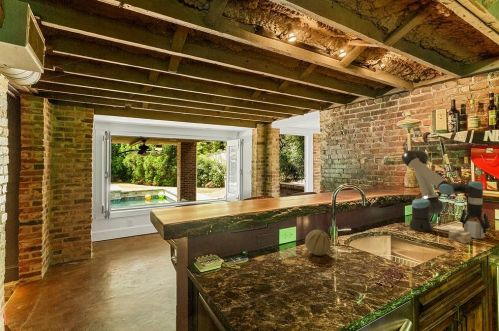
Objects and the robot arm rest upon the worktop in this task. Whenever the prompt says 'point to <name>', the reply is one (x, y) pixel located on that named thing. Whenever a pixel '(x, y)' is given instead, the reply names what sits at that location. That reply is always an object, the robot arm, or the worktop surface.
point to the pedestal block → (460, 236)
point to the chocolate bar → (390, 276)
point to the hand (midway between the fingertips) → (473, 235)
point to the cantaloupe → (317, 242)
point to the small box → (474, 228)
